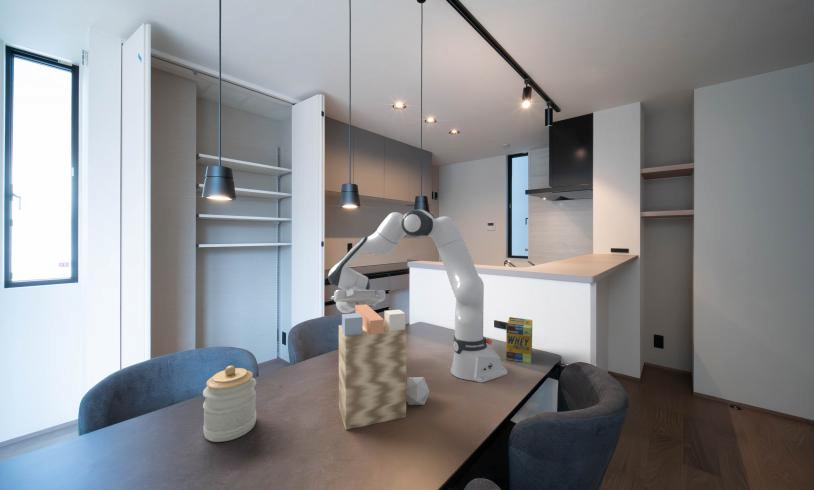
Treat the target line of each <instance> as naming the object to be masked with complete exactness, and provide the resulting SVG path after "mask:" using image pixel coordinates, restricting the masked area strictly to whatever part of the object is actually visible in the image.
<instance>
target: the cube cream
mask: <svg viewBox="0 0 814 490" xmlns="http://www.w3.org/2000/svg"><path fill="white" fill-rule="evenodd" d="M383 312H384V313H383V314H384V318H383V319H384V327H385V328H386V329H387V330H388V331H389V332H390V331H399V330H406V312H404V311H403V310H401V309H390V310H389V309H388V310H384V311H383Z"/></svg>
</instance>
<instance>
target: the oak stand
mask: <svg viewBox="0 0 814 490" xmlns="http://www.w3.org/2000/svg"><path fill="white" fill-rule="evenodd" d="M406 383H407V330H406V329H405V330H399V331H390V332H389V331H388V330H387V329H386V328H385V327H384V333H382V334H373V335H370V334H369V333H368V331H367V330H366V329H365V328H364V327H363V334H362V335H353V336H344V334H343V332H342V324H339V325H338V409H339V411H340V415H341V416H340V417H341V418H342V422H343V426H344V429H345V431H347V430H351V429H355V428H361V427H366V426H369V425H373V424H379V423H384V422H389V421H393V420H398V419H403V418H407V399H406Z"/></svg>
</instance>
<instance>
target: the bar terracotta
mask: <svg viewBox="0 0 814 490" xmlns="http://www.w3.org/2000/svg"><path fill="white" fill-rule="evenodd" d="M354 311H355V313H359V314H360V315H361V316H362V317H363V327H364V328H365V329H366V330H367V331H368V333H369V334H370V335H373V334H382V333H384V318H383V317H382V316H381V315H379V314H378V313H377V312H376V311H374V309H373V308H372V307H371V306H368V305H355V310H354Z"/></svg>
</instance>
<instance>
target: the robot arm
mask: <svg viewBox="0 0 814 490" xmlns="http://www.w3.org/2000/svg"><path fill="white" fill-rule="evenodd" d="M406 235H407V236H410V237H415V238H423V237H427V236H428V237H430V238H431V239H432V240H433V242H434V244H435V245H434V246H435V247H436V248H437V251H438V254H439V256H440V259H441V261H442V263H443V265H444V269H445V272H446V275H447V278H448V281H449V284H450V287H451V290H452V291H453V294H454V297H455V314H454V335H453V359H452V362H451V363H452V364H451V366H450V374H451V375H453V376H454V377H456V378H458V379H462V380H467V381H474V382H477V383H485V382H488V381H490V380H493V379H496V378H500V377H503V376H506V375H508V374H509V373H508V370H507V368H506V367H505V366H503V364H502V361H501V358H500V355H499V354H497V352H495V351H494V350H492V349H491V347H489V346H488V345H492V344H493V340H492V339H490V338H486V337H485V336H484V308H485V307H484V306H485V305H484V303H485V302H484V296H485V295H484V294H485V291H484V290H485V284H484V281H483V279H482V277H481V276H479V274H478V271H477V269H476V267H475V264H474V260H473V259H472V256H471V253H470V252H469V249H468V246H467V245H466V242H465V239H464V238H463V237H464V236H463V235H462V233H461V231H460V229H459V228H458V226H457V224H456V222H454V220H453V218H451V217H450V216H447V215H446V216H443V215H442V216H439V217H437V218H436V217H435V216H434V215H433V214H432V213H431V212H429V211H427V210H424V209H410V210H408V211H407V212H405V213H404V214H403V213H401V212H397V211H394V212H393V211H392V212H391V213H388V215H387V216H386V217H385V218H384V219H383V221H382V222H381V223H380V224H379V226H378V227H377V229H376V230H375V232H373V233H371V234H370V235H369V236H363V237H362V238H360V239H359V240H358V241H357V242H356V243H355V244H354V245H353V246H352V247H350V250H348V251H347V252H346V253H345V255H344V256H343V257H342V258H341V259H340V260H338V261H337V263H335V265H333V267H331V269H330V270H329V272H328V274H327V279H328V282H329V284H330V285H331V286H333V287H337V288H339V289H336V290H334V292H333V295H332V296H330V299H331V300H333V302H334V303H335V307H336V309H337V310H338V311H339V312H340V313H343V314H350V313H352V312H354V311H355V305H368V306H369V307H375V306H376V305H377V304H379V303H381V302H383V301H384V300H386V291H385V290H384V289H371V282H370V279H369V277H368V276H367V275H364V274H361V272H358V271H356V270H354V269H353V268H351V267H349V266H350V265H351V264H352V263H354V261H356V259H357V258H358V257H359V256H360V255H375V256H388V255H390V254H392V253H393V252H394V251H395V249H396V248H397V247H398V246H399V245H400V243H401V241H402V240H403V239H404V237H405V236H406ZM487 344H488V345H487Z"/></svg>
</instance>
